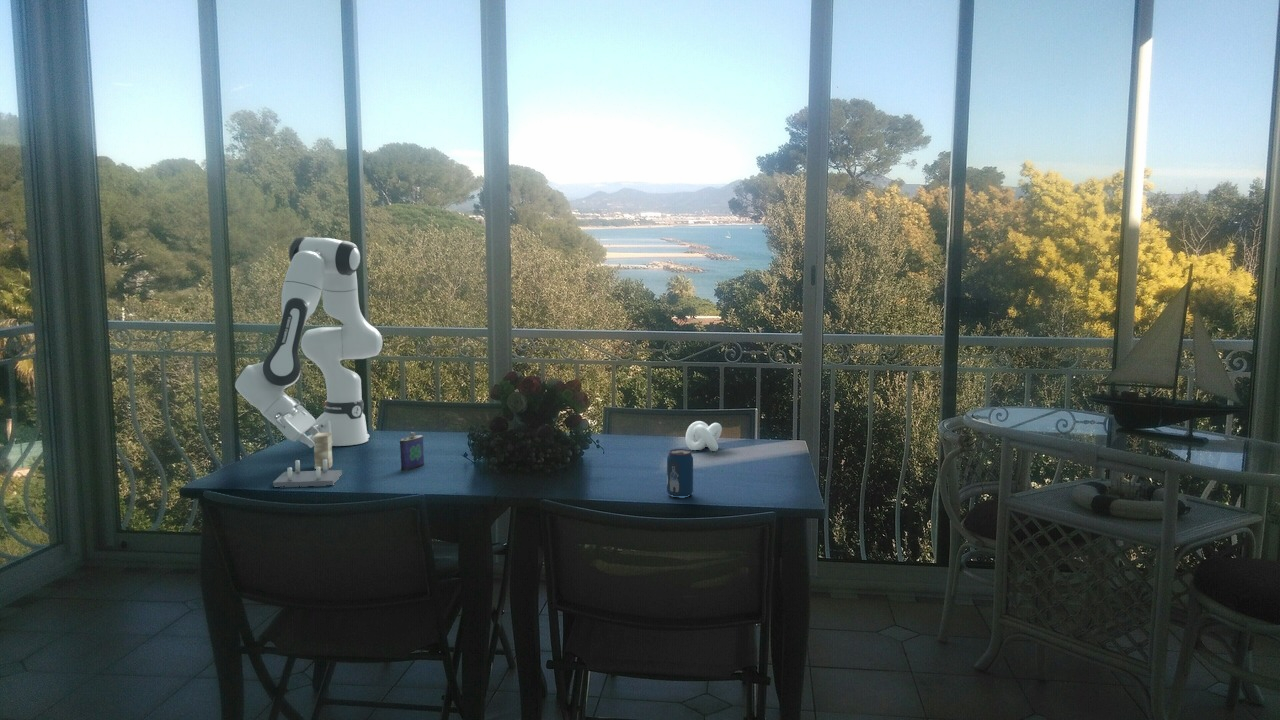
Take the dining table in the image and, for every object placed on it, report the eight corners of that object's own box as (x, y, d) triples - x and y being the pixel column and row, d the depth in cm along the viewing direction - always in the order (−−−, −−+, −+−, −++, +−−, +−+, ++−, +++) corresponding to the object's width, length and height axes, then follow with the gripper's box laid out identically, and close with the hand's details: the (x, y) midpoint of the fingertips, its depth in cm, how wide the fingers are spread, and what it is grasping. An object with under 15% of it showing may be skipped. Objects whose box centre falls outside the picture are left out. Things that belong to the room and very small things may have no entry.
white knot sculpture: (680, 452, 296) (680, 425, 295) (690, 444, 307) (690, 418, 306) (715, 455, 293) (715, 427, 291) (723, 447, 304) (724, 420, 303)
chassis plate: (273, 487, 253) (272, 469, 253) (284, 476, 265) (283, 459, 265) (333, 485, 255) (332, 468, 255) (341, 475, 267) (341, 458, 266)
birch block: (315, 469, 274) (313, 436, 272) (318, 465, 279) (317, 433, 277) (328, 469, 274) (327, 436, 273) (332, 465, 279) (331, 432, 278)
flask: (419, 463, 282) (418, 428, 280) (427, 464, 280) (426, 429, 279) (398, 470, 273) (397, 434, 272) (406, 471, 272) (405, 435, 271)
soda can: (691, 491, 249) (692, 448, 248) (694, 499, 242) (694, 454, 241) (666, 492, 249) (666, 448, 247) (667, 499, 242) (667, 454, 241)
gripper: (279, 409, 263) (316, 442, 265) (298, 397, 283) (332, 428, 285) (264, 425, 263) (301, 457, 265) (283, 412, 283) (318, 443, 285)
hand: (317, 442), depth 275 cm, fingers open, 8 cm apart
